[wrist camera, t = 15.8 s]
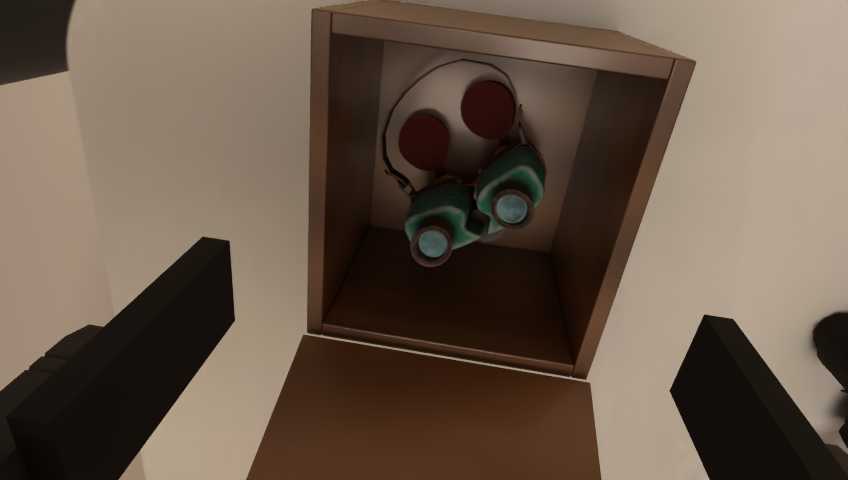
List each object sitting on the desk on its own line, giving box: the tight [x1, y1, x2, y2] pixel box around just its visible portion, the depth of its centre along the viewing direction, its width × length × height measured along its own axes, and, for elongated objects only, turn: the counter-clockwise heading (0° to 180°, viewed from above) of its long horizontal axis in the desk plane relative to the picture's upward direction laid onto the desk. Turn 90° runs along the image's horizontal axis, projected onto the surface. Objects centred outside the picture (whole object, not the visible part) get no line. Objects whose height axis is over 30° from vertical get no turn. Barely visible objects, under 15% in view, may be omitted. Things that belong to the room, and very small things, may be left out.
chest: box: [307, 0, 696, 380], centre depth 28 cm, size 16×15×13 cm
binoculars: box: [380, 58, 548, 267], centre depth 29 cm, size 9×11×10 cm
